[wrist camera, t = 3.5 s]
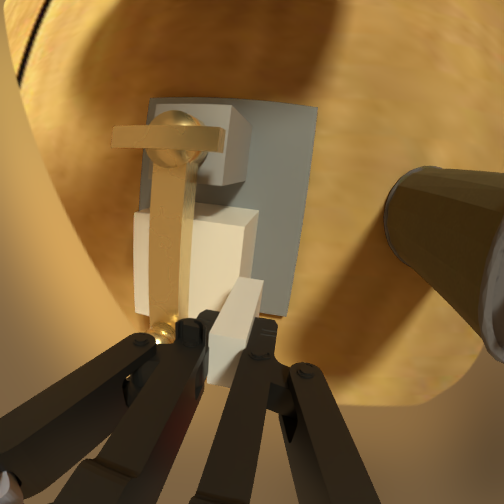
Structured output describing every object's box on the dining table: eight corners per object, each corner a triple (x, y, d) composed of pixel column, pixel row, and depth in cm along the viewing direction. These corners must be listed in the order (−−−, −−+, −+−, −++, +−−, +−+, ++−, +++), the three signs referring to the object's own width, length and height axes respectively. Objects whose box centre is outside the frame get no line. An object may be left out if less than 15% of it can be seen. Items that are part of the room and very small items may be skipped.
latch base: (154, 99, 26) (96, 77, 17) (316, 109, 24) (328, 77, 15) (142, 285, 32) (92, 326, 22) (286, 312, 30) (281, 372, 21)
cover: (175, 200, 28) (134, 212, 20) (259, 210, 27) (244, 227, 19) (171, 278, 30) (135, 312, 22) (249, 292, 29) (232, 334, 21)
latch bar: (145, 116, 17) (110, 106, 13) (237, 119, 16) (220, 104, 12) (138, 323, 21) (111, 351, 17) (214, 341, 20) (198, 376, 16)
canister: (392, 280, 28) (490, 423, 9) (372, 178, 25) (516, 203, 6) (476, 253, 25) (603, 340, 6) (463, 157, 23) (621, 167, 4)
